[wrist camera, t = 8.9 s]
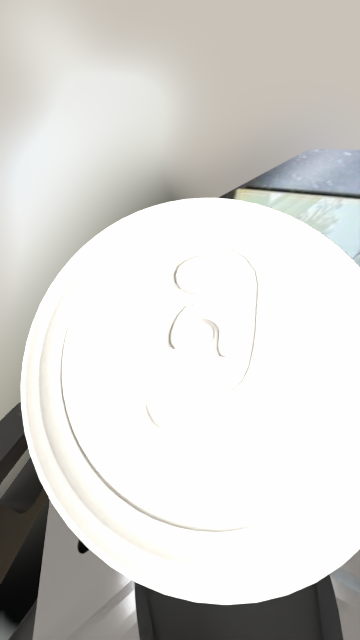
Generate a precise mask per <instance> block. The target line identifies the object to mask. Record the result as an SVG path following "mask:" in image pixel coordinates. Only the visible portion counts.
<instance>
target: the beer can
mask: <svg viewBox="0 0 360 640" xmlns="http://www.w3.org/2000/svg"><path fill="white" fill-rule="evenodd" d="M21 409H22V417H23V424H24V432H25V436H26V440H27V443H28V447H29V451H30V455H31V458H32V461H33V463H34V466H35V469H36V471H37V474H38V477H39V479H40V481H41V483H42V485H43V487H44V489H45V491H46V493H47V495H48V496H49V498H50V500H51V502H52V504H53V505H54V507H55V508H56V510H57V511H58V513H59V514H60V515H61V517H62V518H63V520H64V521H65V523H66V524H67V525H68V527H69V528H70V529H71V530H72V531H73V532H74V533H75V534H76V535H77V537H78V538H79V539H80V540H81V541H82V542H83V543H84V544H85V545H86V546H87V547H88V548H89V549H90V550H91V551H92V552H93V553H95V554H96V555H97V556H98V557H99V558H101V559H102V560H103V561H104V562H106V563H107V564H108V565H109V566H110V567H112V568H114V569H115V570H117V571H118V572H120V573H122V574H123V575H125V576H127V577H128V578H130V579H131V580H133V581H135V582H136V583H139V584H141V585H143V586H146V587H148V588H150V589H153V590H155V591H157V592H160V593H162V594H164V595H168V596H172V597H176V598H180V599H184V600H188V601H192V602H198V603H209V604H221V605H232V604H246V603H258V602H262V601H266V600H270V599H274V598H278V597H282V596H286V595H289V594H291V593H294V592H296V591H298V590H300V589H303V588H305V587H307V586H310V585H312V584H314V583H316V582H318V581H319V580H321V579H322V578H324V577H326V576H327V575H329V574H330V573H332V572H333V571H335V570H336V569H338V568H339V567H341V566H342V565H343V564H344V563H345V562H347V561H348V560H349V559H350V558H351V557H352V556H353V555H354V554H355V553H356V552H357V551H358V550H360V267H359V266H358V264H357V263H356V262H355V261H354V260H353V259H352V258H351V257H350V256H349V255H348V254H347V253H346V252H344V251H343V250H342V249H341V248H340V247H339V246H338V245H337V244H335V243H334V242H333V241H331V240H330V239H329V238H327V237H326V236H325V235H323V234H322V233H321V232H319V231H317V230H316V229H314V228H312V227H311V226H309V225H308V224H306V223H304V222H302V221H300V220H298V219H296V218H294V217H292V216H290V215H288V214H285V213H283V212H280V211H278V210H275V209H273V208H269V207H266V206H263V205H259V204H256V203H251V202H246V201H241V200H234V199H225V198H194V199H183V200H177V201H172V202H167V203H163V204H159V205H155V206H152V207H150V208H147V209H144V210H141V211H138V212H136V213H134V214H132V215H129V216H127V217H125V218H123V219H121V220H119V221H118V222H116V223H114V224H112V225H111V226H109V227H108V228H106V229H105V230H103V231H102V232H101V233H99V234H98V235H96V236H95V237H94V238H92V239H91V240H90V241H89V242H88V243H87V244H86V245H84V246H83V247H82V248H81V249H80V250H79V251H78V252H77V253H76V254H75V255H74V256H73V257H72V258H71V259H70V260H69V262H68V263H67V264H66V265H65V267H64V268H63V269H62V270H61V271H60V273H59V274H58V276H57V277H56V278H55V280H54V281H53V283H52V284H51V286H50V287H49V289H48V291H47V293H46V295H45V297H44V298H43V300H42V302H41V304H40V306H39V309H38V311H37V313H36V316H35V318H34V321H33V323H32V327H31V330H30V333H29V336H28V340H27V343H26V349H25V354H24V359H23V365H22V377H21Z"/></svg>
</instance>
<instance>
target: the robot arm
mask: <svg viewBox="0 0 360 640" xmlns="http://www.w3.org/2000/svg"><path fill="white" fill-rule="evenodd" d="M353 260H354V261H355V262H356V263H357V264H358V266H359V267H360V253H359V254H358V255H357V256H355V257H354V258H353ZM27 448H28V443H27V440H26V436H25V432H24V424H23V417H22V409H21V402H20V403H19V404H17V405H16V406H15V407H14V408H13V409H12V410H11V411H10V412H9V413H8V414H7V415H6V416H5V417H4V418H3V419H2V420H1V421H0V484H1V482H2V481H3V479H4V478H5V477H6V476H7V474H8V473H9V472H10V470H11V469H12V468H13V466H14V465H15V464H16V462H17V461H18V460H19V459H20V457H21V456H22V455H23V454H24V452H25V451H26V450H27ZM48 497H49V496H48V495H47V493H46V491H45V489H44V487H43V485H42V483H41V481H40V479H39V477H38V474H37V471H36V469H35V466H34V463H33V461H32V458H30V459H29V460H28V462H27V463H26V465H25V466H24V467H23V469H22V470H21V472H20V473H19V474H18V476H17V477H16V478H15V480H14V481H13V483H12V484H11V485H10V487H9V488H8V489H7V491H6V492H5V494H4V495H3V496H2V498H1V499H0V584H1V582H2V581H3V579H4V577H5V575H6V573H7V571H8V570H9V568H10V566H11V564H12V562H13V561H14V559H15V557H16V555H17V553H18V552H19V550H20V548H21V546H22V544H23V542H24V541H25V539H26V537H27V535H28V533H29V532H30V530H31V528H32V526H33V524H34V523H35V521H36V519H37V517H38V515H39V514H40V512H41V510H42V508H43V506H44V504H45V503H46V501H47V499H48ZM9 640H360V550H358V551H357V552H356V553H355V554H354V555H353V556H352V557H351V558H350V559H349V560H348V561H347V562H345V563H344V564H343V565H342V566H341V567H339V568H338V569H336V570H335V571H333V572H332V573H330V574H329V575H327V576H326V577H324V578H322V579H321V580H319V581H318V582H316V583H314V584H312V585H310V586H307V587H305V588H303V589H300V590H298V591H296V592H294V593H291V594H289V595H286V596H282V597H278V598H274V599H270V600H266V601H262V602H258V603H246V604H232V605H221V604H209V603H198V602H192V601H188V600H184V599H180V598H176V597H172V596H168V595H164V594H162V593H160V592H157V591H155V590H153V589H150V588H148V587H146V586H143V585H141V584H139V583H136V582H135V581H133V580H131V579H130V578H128V577H127V576H125V575H123V574H122V573H120V572H118V571H117V570H115V569H114V568H112V567H110V566H109V565H108V564H107V563H106V562H104V561H103V560H102V559H101V558H99V557H98V556H97V555H96V554H95V553H93V552H92V551H91V550H90V549H89V548H88V547H87V546H86V545H85V544H84V543H83V542H82V541H81V540H80V539H79V538H78V537H77V535H76V534H75V533H74V532H73V531H72V530H71V529H70V528H69V527H68V525H67V524H66V523H65V521H64V520H63V518H62V517H61V515H60V514H59V513H58V511H57V510H56V508H55V507H54V505H53V504H52V502H51V500H50V503H49V512H48V521H47V528H46V536H45V544H44V552H43V560H42V568H41V576H40V584H39V592H38V599H37V601H36V602H35V603H34V605H33V606H32V608H31V609H30V611H29V612H28V613H27V615H26V616H25V617H24V619H23V620H22V622H21V623H20V624H19V626H18V627H17V629H16V630H15V631H14V633H13V634H12V636H11V637H10V639H9Z"/></svg>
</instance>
